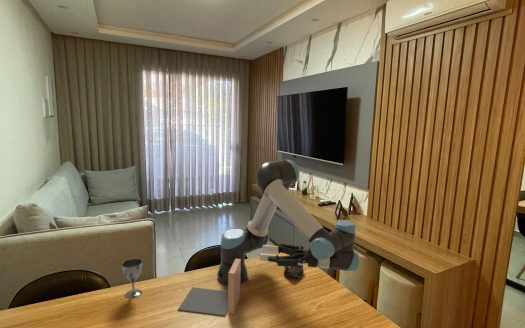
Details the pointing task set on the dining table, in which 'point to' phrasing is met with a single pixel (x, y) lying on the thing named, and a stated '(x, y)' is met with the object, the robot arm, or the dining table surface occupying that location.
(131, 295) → the wine glass
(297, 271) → the fossil
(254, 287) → the dining table surface
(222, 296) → the mat
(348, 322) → the dining table surface
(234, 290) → the tile
